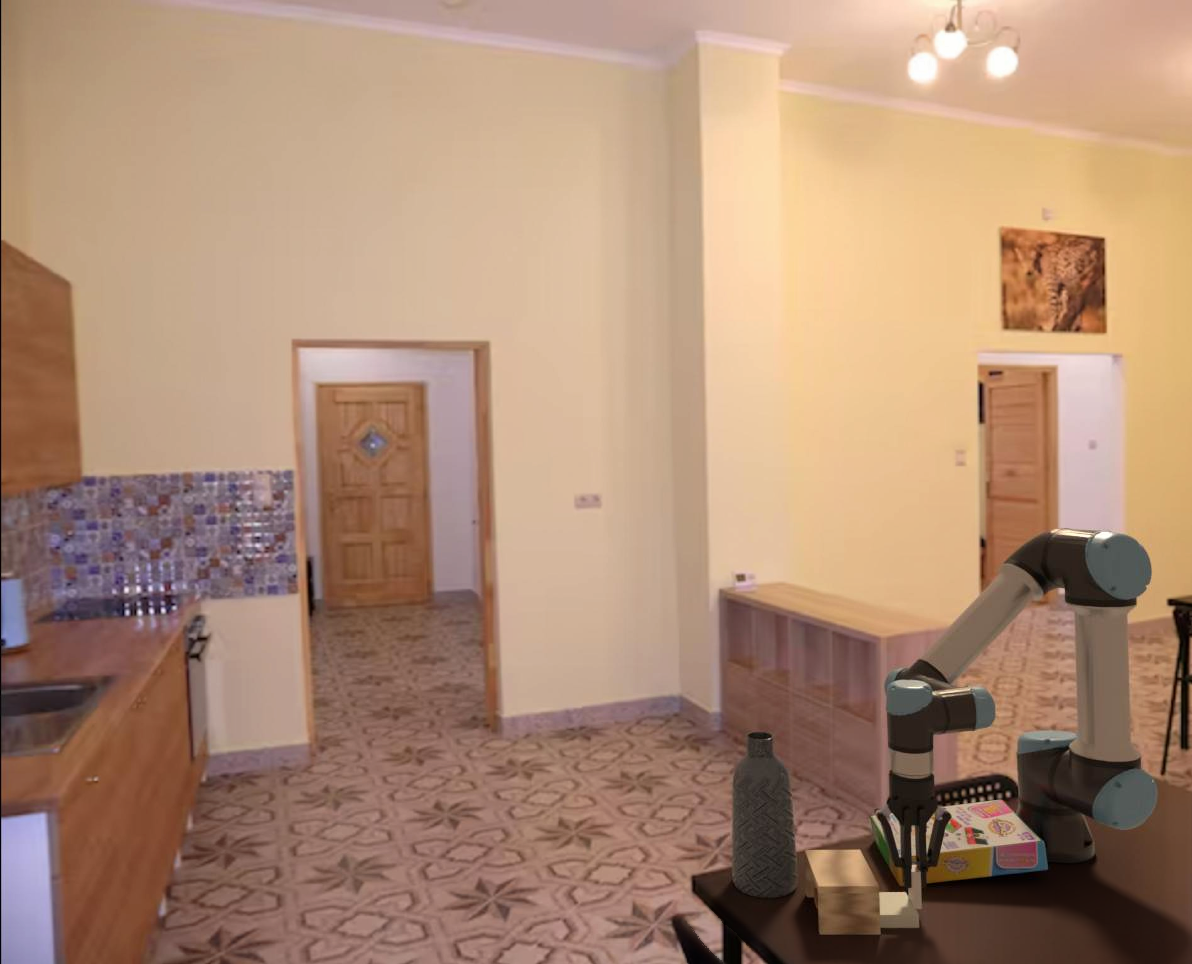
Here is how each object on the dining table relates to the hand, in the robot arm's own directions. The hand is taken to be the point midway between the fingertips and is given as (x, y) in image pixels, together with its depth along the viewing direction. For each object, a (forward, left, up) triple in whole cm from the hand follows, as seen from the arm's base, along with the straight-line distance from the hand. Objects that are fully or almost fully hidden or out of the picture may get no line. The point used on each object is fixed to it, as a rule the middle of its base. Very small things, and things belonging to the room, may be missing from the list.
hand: (915, 904), depth 155 cm
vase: (+25, -11, -2) cm, 27 cm away
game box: (+1, -20, +1) cm, 20 cm away
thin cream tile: (+7, +1, -2) cm, 7 cm away
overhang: (+13, 0, -2) cm, 13 cm away
